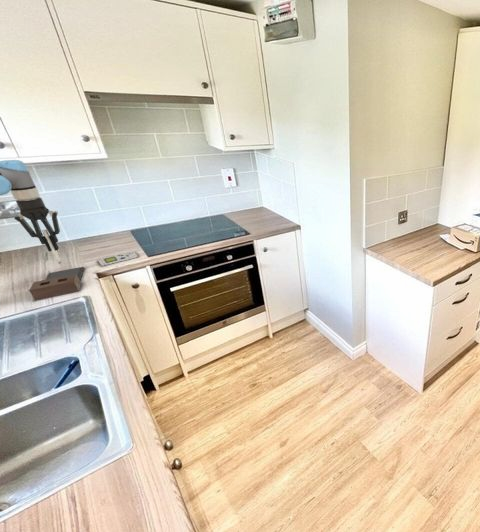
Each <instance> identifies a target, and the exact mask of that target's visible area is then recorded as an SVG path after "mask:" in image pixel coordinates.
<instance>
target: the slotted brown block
mask: <svg viewBox="0 0 480 532" xmlns="http://www.w3.org/2000/svg"><path fill="white" fill-rule="evenodd" d="M81 286H82V282H81V280H79V278H78V276H77V274H73V275H68V276H62V277H57V278H52V279H47V280H46V279H43V280H37V281H34V282H33V283H31V286H30V288H29V289H28V291H29V293H30V295H31V296H32V298H33V299H34V301H40V300H44V299H49V298H55V297H58V296H63V295H68V294H72V293H76V292H80V289H81Z"/></svg>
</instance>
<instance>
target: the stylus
mask: <svg viewBox="0 0 480 532" xmlns="http://www.w3.org/2000/svg"><path fill="white" fill-rule="evenodd" d="M41 232H42V234H43V236H45V238H46V240H47V242H48V244H49V246H50V249H51V251H50V252H51V253H52V255H53V257H54V259H55V261H56V263H58V264H59V265H61V264H62V259H61V257H60V255H59V253H58V250H55V248H54V246H53V244H52V242H51V240H50V238H49V236H50V234H49V232H48V231H47V229H41Z"/></svg>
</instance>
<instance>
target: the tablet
mask: <svg viewBox="0 0 480 532" xmlns="http://www.w3.org/2000/svg"><path fill="white" fill-rule="evenodd" d="M84 271H85V267H84V266H79V267H74V268H73V267H72V268H68V269H62V270H58V271H53V272H49V273H48V275H47V276H46V278H45V280H47V279H52V278H57V277H62V276H68V275H73V274H77V276H78V278H79V280H80V281H81V279H82V277H83V275H84V274H83V273H84Z"/></svg>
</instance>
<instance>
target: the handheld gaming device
mask: <svg viewBox="0 0 480 532" xmlns="http://www.w3.org/2000/svg"><path fill="white" fill-rule="evenodd" d="M138 257H139V256H138V255H137V253H136V252H135V251H129V252H125V253H120V254H116V255H111V256H108V257H103V258H99V259H98V260H97V261H98V263H99V265H100V266H101V267H103V266H108V265H113V264H116V263H120V262H124V261H127V260H132V259H135V258H138Z"/></svg>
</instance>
